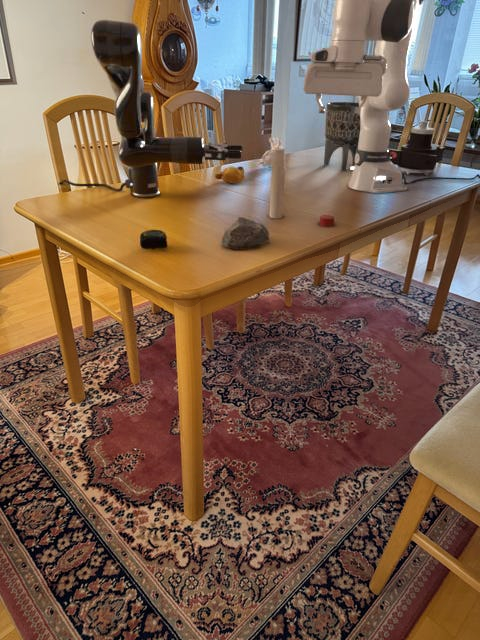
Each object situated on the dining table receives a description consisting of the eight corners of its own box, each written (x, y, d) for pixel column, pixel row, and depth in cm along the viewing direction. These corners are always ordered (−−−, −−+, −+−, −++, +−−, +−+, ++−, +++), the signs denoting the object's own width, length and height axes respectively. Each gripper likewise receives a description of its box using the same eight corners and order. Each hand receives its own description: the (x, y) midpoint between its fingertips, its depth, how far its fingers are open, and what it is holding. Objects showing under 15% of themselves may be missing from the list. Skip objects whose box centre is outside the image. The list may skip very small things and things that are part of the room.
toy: (212, 175, 175) (219, 166, 187) (218, 191, 178) (224, 181, 190) (239, 166, 171) (244, 157, 184) (245, 182, 174) (249, 173, 187)
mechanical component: (390, 120, 192) (418, 115, 212) (381, 171, 203) (408, 162, 223) (441, 125, 180) (466, 119, 200) (429, 179, 191) (453, 169, 211)
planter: (313, 167, 208) (319, 103, 195) (331, 160, 222) (338, 101, 209) (353, 173, 199) (362, 107, 185) (369, 166, 213) (379, 104, 199)
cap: (331, 222, 139) (332, 214, 138) (334, 226, 136) (335, 218, 135) (318, 222, 139) (318, 214, 138) (321, 226, 135) (321, 218, 134)
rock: (255, 233, 128) (256, 211, 124) (276, 242, 122) (278, 219, 119) (217, 244, 120) (217, 220, 117) (239, 254, 115) (239, 230, 111)
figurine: (286, 165, 210) (288, 136, 203) (269, 171, 199) (270, 140, 193) (271, 163, 214) (272, 134, 207) (253, 168, 203) (254, 138, 196)
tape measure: (140, 252, 115) (139, 238, 113) (141, 242, 120) (140, 229, 119) (167, 251, 116) (166, 237, 114) (167, 241, 121) (166, 228, 120)
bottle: (285, 217, 143) (289, 149, 133) (274, 219, 141) (278, 150, 131) (276, 213, 146) (280, 147, 136) (266, 215, 144) (269, 148, 134)
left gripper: (183, 140, 126) (241, 142, 126) (189, 133, 139) (242, 134, 138) (184, 168, 130) (240, 170, 130) (190, 158, 142) (242, 160, 142)
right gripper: (388, 55, 115) (379, 114, 122) (308, 53, 120) (304, 111, 127) (388, 55, 110) (378, 117, 117) (305, 53, 115) (300, 113, 122)
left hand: (241, 151), depth 134 cm, fingers open, 8 cm apart
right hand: (339, 114), depth 122 cm, fingers open, 8 cm apart
